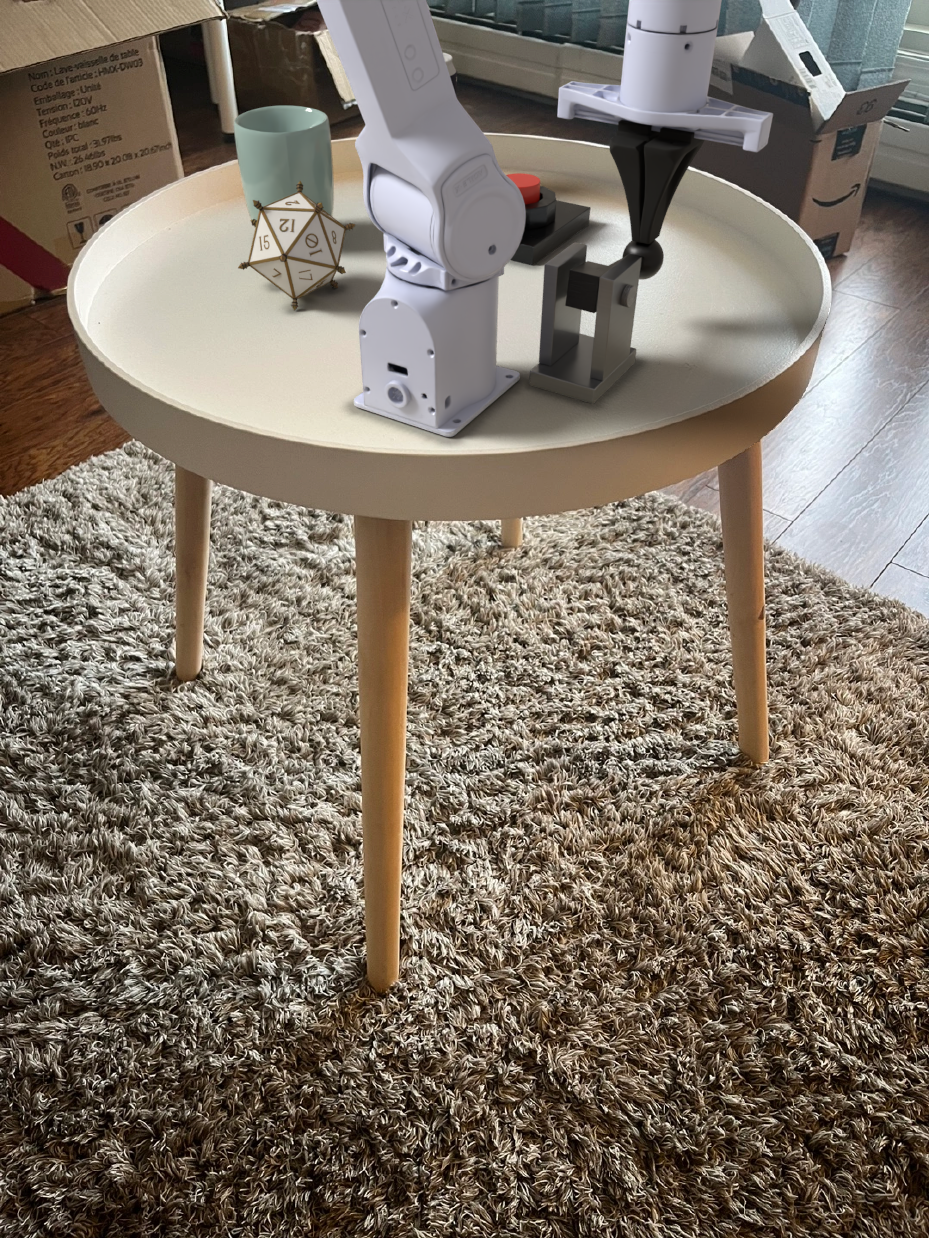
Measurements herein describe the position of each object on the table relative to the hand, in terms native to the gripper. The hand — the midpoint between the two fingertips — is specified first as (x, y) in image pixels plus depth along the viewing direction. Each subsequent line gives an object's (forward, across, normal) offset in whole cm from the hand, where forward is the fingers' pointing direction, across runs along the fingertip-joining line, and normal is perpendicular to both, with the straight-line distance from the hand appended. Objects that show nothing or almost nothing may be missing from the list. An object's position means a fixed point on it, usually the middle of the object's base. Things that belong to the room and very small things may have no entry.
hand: (645, 238), depth 73 cm
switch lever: (+2, 0, +5) cm, 5 cm away
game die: (+7, +25, +9) cm, 28 cm away
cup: (+7, +33, 0) cm, 34 cm away
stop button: (+4, +17, -11) cm, 20 cm away
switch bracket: (+7, 0, +9) cm, 11 cm away
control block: (+7, +17, -11) cm, 21 cm away
